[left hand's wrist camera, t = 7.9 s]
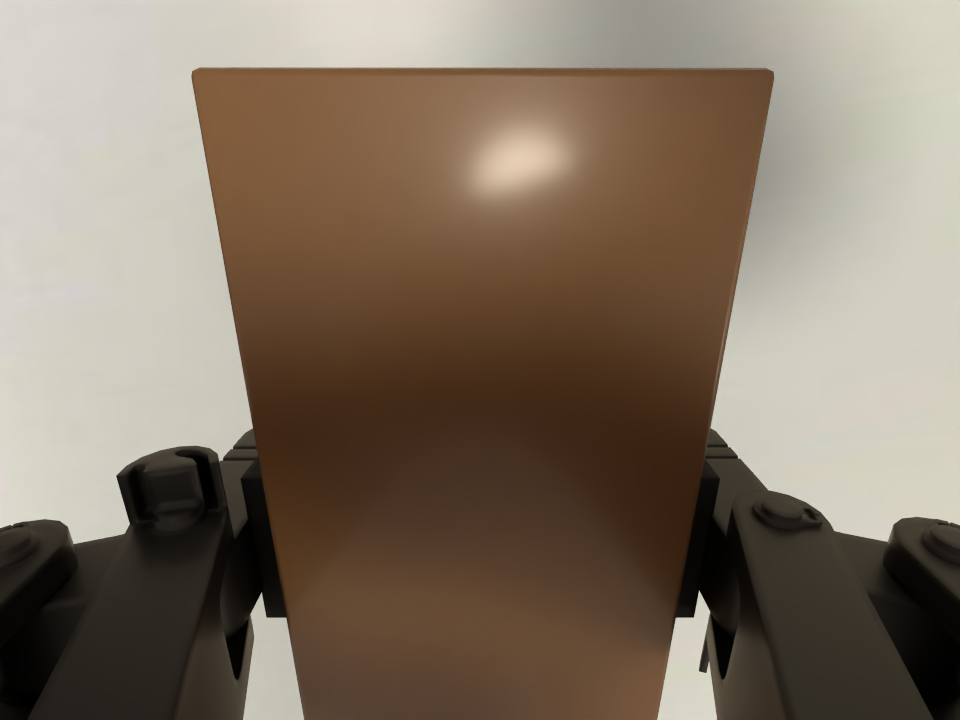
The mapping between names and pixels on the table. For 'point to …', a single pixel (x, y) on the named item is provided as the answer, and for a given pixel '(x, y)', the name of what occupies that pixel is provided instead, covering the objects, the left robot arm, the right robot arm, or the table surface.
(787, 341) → the table surface
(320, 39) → the table surface
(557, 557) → the post
